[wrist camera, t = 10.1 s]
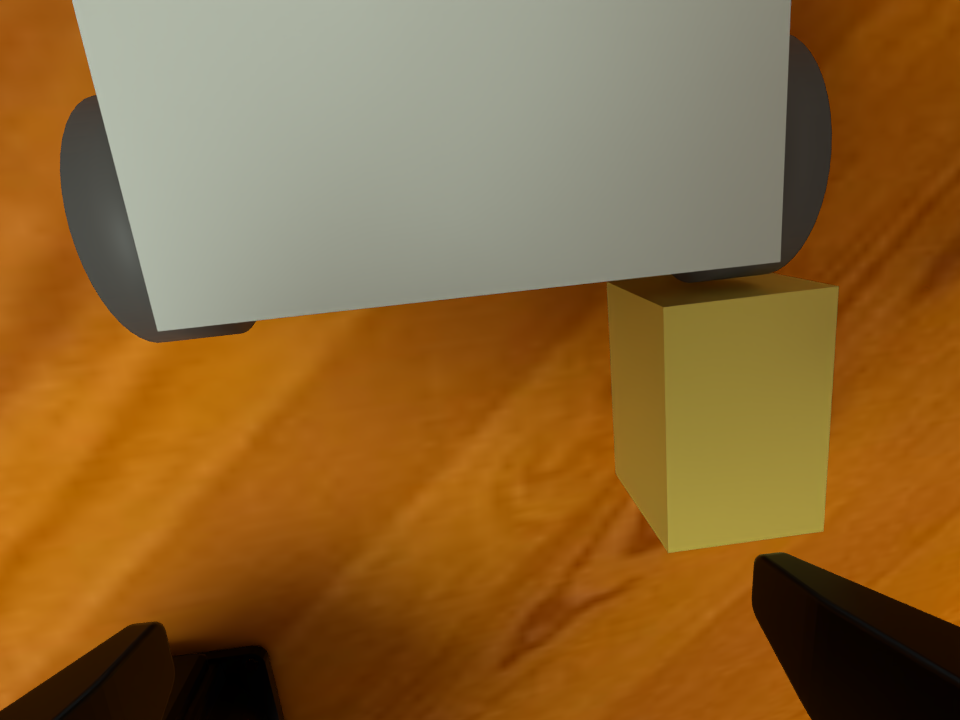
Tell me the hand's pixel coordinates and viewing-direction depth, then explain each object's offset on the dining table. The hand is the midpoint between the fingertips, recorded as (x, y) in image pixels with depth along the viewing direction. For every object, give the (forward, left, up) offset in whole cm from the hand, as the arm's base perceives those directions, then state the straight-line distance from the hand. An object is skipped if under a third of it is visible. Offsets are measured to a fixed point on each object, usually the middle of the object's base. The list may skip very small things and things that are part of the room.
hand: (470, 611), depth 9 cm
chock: (-1, -8, -11) cm, 14 cm away
